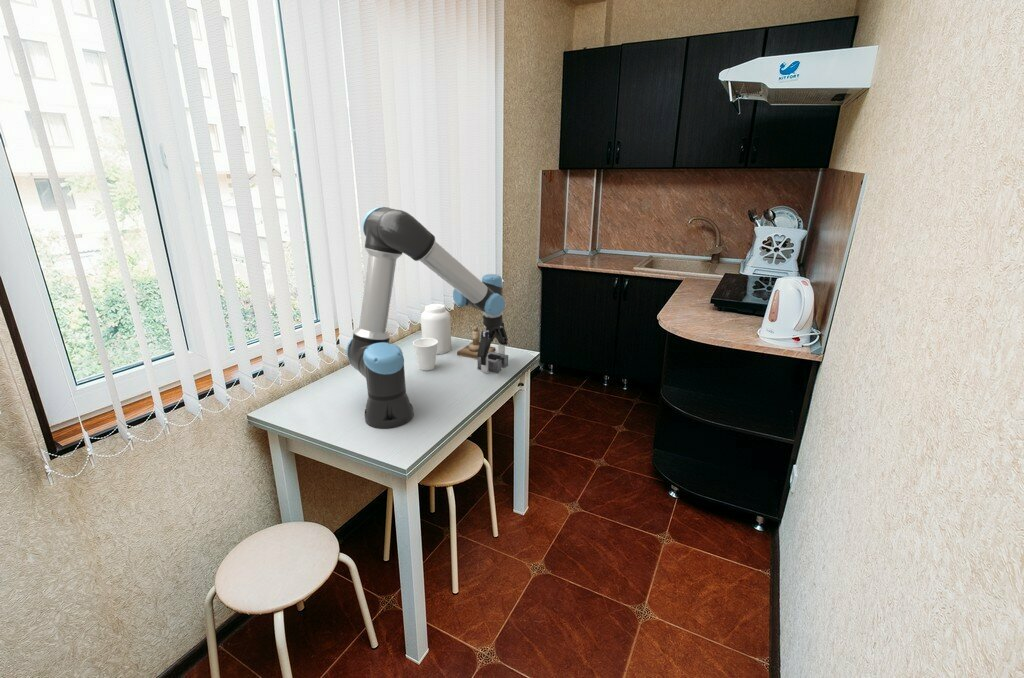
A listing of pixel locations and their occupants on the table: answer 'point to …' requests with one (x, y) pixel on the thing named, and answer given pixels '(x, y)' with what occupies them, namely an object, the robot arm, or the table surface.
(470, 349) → the post fixture
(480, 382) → the table surface
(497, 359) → the grey split frame
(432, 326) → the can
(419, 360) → the cup
